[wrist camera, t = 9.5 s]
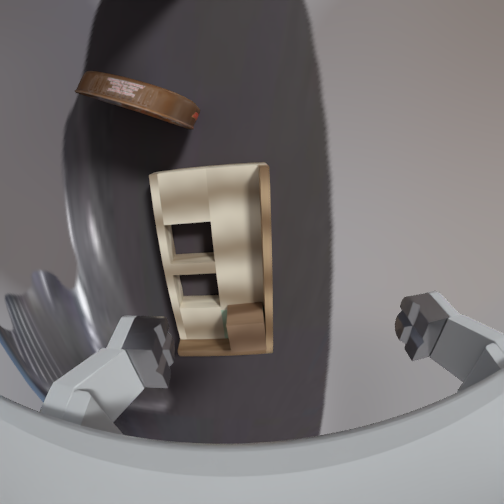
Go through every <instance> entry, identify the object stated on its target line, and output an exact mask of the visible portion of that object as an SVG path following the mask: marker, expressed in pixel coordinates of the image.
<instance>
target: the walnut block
mask: <svg viewBox="0 0 504 504" xmlns="http://www.w3.org/2000/svg"><path fill="white" fill-rule="evenodd" d="M226 327H227V332H228V337H229V342H230V347H231V352H232V353H233V352H245V351H256V350H266V349H267V347H266V336H265V325H264V317H263V309H262V302H253V303H243V304H232V305H228V307H227V323H226Z"/></svg>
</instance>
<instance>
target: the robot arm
mask: <svg viewBox="0 0 504 504" xmlns="http://www.w3.org/2000/svg"><path fill="white" fill-rule="evenodd" d="M400 307H401V310H402V311H401V312H400V313H399V314H398V316H397V318H396V321H395V331H396V335H397V337H398V339H399V340H400V341H402V342H403V343H405V350H406V352H407V353H408V355H409V357H410V358H411V360H412V361H414V360H418V359H422V358H426V357H429V356H430V358H431V359H433V360H434V361H435V362H437V363H438V364H439V365H441V366H442V367H443V368H445V369H446V370H447V371H449V372H450V373H452V374H453V375H454V376H456V377H457V378H458V379H460V380H461V381H462V382H463V384H462V385H461V386H460V388H459V389H458V391H457V393H455V394H453V395H451V396H449V397H446V398H444V399H442V400H439V401H437V402H435V403H432V404H430V405H427V406H425V407H422V408H420V409H417V410H415V411H411V412H409V413H406V414H403V415H400V416H397V417H394V418H390V419H387V420H384V421H381V422H377V423H373V424H370V425H366V426H362V427H358V428H354V429H350V430H345V431H341V432H336V433H331V434H325V435H320V436H314V437H307V438H300V439H293V440H284V441H274V442H261V443H242V444H203V443H184V442H171V441H161V440H153V439H145V438H138V437H132V436H126V435H123V434H122V432H121V431H120V430H119V429H118V428H117V427H116V426H115V424H114V423H113V422H114V421H115V420H116V419H117V417H118V416H119V415H120V414H121V413H122V412H123V411H124V410H125V409H126V408H127V407H128V406H129V405H130V403H131V402H132V401H133V400H134V399H135V398H136V397H137V396H138V395H139V394H140V393H141V392H142V390H143V389H144V387H151V388H168V386H169V382H170V377H171V370H170V368H169V366H170V365H171V364H173V363H174V357H175V345H174V340H173V337H172V335H170V334H169V333H168V329H169V324H168V321H167V318H166V317H161V316H123V317H121V319H120V321H119V323H118V325H117V327H116V329H115V331H114V333H113V335H112V337H111V339H110V341H109V344H108V346H107V348H102V349H100V350H99V351H97V352H96V353H95V354H93V355H92V356H90V357H89V358H88V359H86V360H85V361H83V362H82V363H80V364H79V365H78V366H76V367H75V368H73V369H72V370H71V371H69V372H68V373H66V374H65V375H64V376H62V377H61V378H59V379H58V380H56V381H55V382H54V383H53V384H52V386H51V388H50V390H49V392H48V394H47V396H46V399H45V401H44V403H43V405H42V407H41V409H40V412H38V411H35V410H33V409H31V408H28V407H26V406H23V405H21V404H19V403H16V402H14V401H11V400H10V399H7V398H5V397H3V396H1V395H0V504H504V334H503V333H501V332H499V331H497V330H495V329H493V328H491V327H489V326H487V325H485V324H483V323H480V322H478V321H476V320H474V319H472V318H470V317H467V316H465V315H463V314H462V315H460V314H459V313H458V312H457V311H456V310H455V309H454V308H453V306H452V305H451V304H450V303H449V302H448V301H447V300H446V299H445V298H444V297H443V296H442V295H441V294H440V292H437V291H432V292H427V293H425V294H419V295H413V296H407V297H404V299H403V300H402V302H401V305H400Z"/></svg>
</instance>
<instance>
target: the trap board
mask: <svg viewBox="0 0 504 504" xmlns="http://www.w3.org/2000/svg"><path fill="white" fill-rule="evenodd" d="M149 180H150V188H151V196H152V203H153V210H154V216H155V223H156V229H157V235H158V241H159V246H160V252H161V257H162V262H163V267H164V272H165V277H166V282H167V286H168V291H169V295H170V299H171V304H172V308H173V312H174V316H175V320H176V324H177V328H178V332H179V336H180V343H179V347H178V354H179V356H227V355H248V354H263V353H273V297H272V243H271V207H270V178H269V166H268V165H267V164H266V163H265V162H260V163H241V164H226V165H213V166H202V167H192V168H183V169H174V170H166V171H159V172H155V173H153V174H150V175H149ZM197 222H211V230H212V239H213V248H214V252H207V253H191V254H176V253H175V247H174V240H173V234H172V227H171V225H172V224H184V223H197ZM208 273H216V274H217V283H218V290H219V295H206V296H183V291H182V286H181V281H180V275H189V274H208ZM253 302H262V309H263V317H264V325H265V336H266V347H267V349H266V350H256V351H245V352H233V353H232V352H231V347H230V342H229V337H228V332H227V327H226V323H227V307H228V305H232V304H243V303H253Z"/></svg>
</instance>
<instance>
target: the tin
mask: <svg viewBox="0 0 504 504" xmlns="http://www.w3.org/2000/svg"><path fill="white" fill-rule="evenodd" d="M75 92H76V93H79V94H82V95H85V96H88V97H92V98H95V99H98V100H100V101H103V102H107V103H110V104H114V105H117V106H120V107H124V108H127V109H130V110H133V111H137V112H140V113H143V114H146V115H149V116H152V117H155V118H158V119H161V120H164V121H166V122H169V123H172V124H175V125H178V126H181V127H184V128H188V129H193V126H194V124H195V122H196V120H197V118H198V116H199V113H200V109H199V108H198V107H197V106H196V104H195V103H194V102H192V101H191V100H189V99H187V98H185V97H183V96H181V95H179V94H177V93H174V92H172V91H169V90H166V89H164V88H161V87H158V86H154V85H151V84H148V83H144V82H141V81H137V80H134V79H130V78H126V77H121V76H117V75H113V74H108V73H103V72H97V71H87V72H85V73H84V75H83V77H82V79H81V81H80V83H79V85H78V87H77V89H76V90H75Z"/></svg>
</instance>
